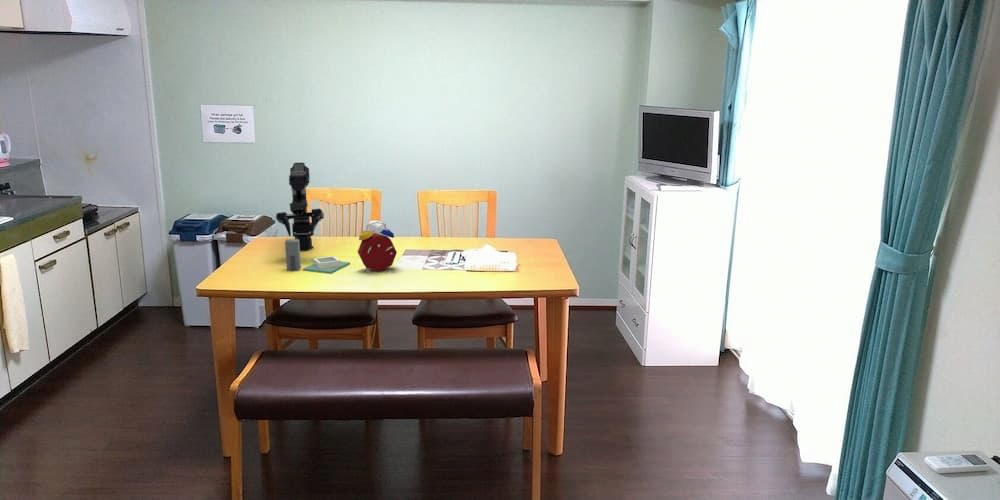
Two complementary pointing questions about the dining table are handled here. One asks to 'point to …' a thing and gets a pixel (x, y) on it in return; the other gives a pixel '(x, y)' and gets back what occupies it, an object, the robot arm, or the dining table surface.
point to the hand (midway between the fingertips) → (300, 235)
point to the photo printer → (376, 227)
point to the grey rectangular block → (292, 254)
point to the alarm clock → (377, 249)
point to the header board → (329, 270)
